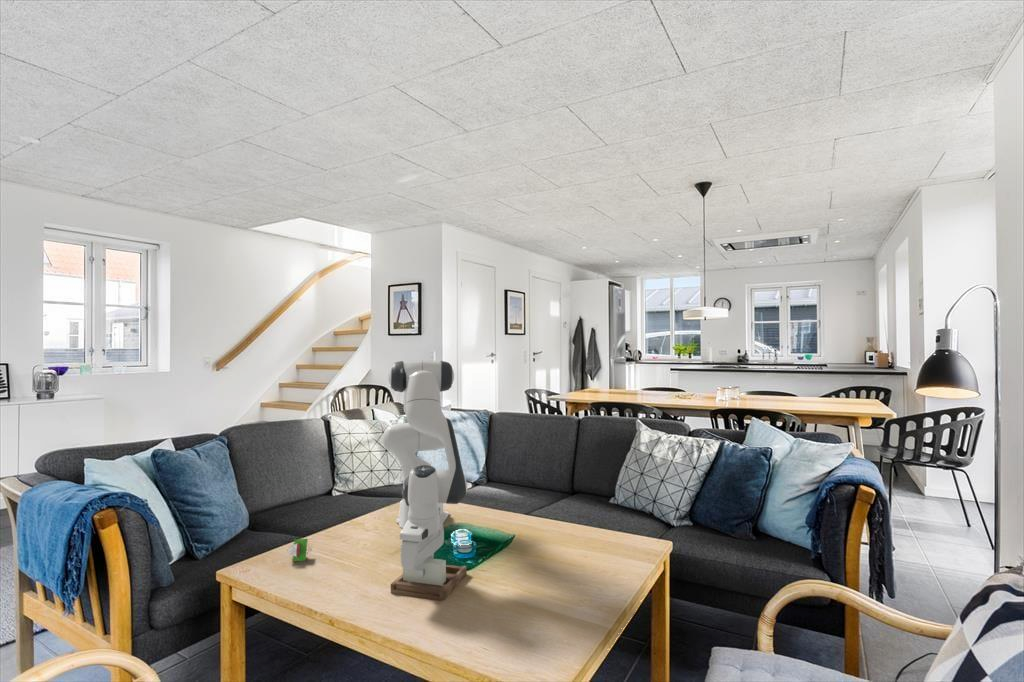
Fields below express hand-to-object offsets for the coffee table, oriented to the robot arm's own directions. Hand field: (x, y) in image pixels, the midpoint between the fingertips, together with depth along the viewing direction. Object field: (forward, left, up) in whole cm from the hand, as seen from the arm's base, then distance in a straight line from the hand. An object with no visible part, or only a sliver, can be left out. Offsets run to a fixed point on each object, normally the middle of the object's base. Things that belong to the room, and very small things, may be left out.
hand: (424, 572), depth 155 cm
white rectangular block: (0, 0, -2) cm, 2 cm away
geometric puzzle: (-7, -48, -5) cm, 49 cm away
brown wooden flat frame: (-3, 0, -5) cm, 6 cm away
